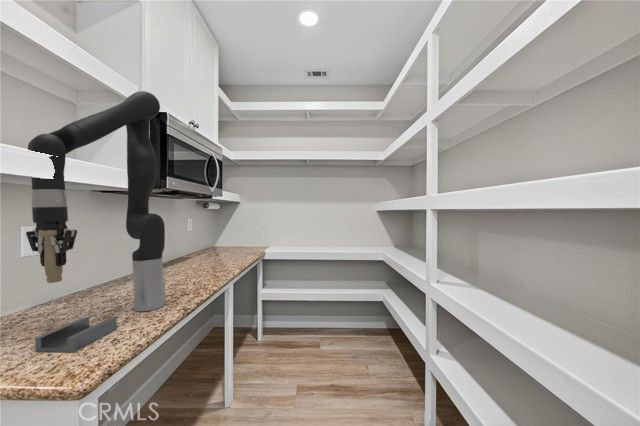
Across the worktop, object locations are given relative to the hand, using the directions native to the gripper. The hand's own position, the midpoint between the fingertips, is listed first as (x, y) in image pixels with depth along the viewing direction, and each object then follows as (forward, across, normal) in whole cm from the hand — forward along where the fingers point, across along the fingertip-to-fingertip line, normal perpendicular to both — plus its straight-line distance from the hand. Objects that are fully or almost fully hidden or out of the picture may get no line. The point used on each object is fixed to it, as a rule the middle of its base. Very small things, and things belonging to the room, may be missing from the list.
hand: (53, 265), depth 86 cm
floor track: (+19, -12, +5) cm, 23 cm away
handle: (+5, 0, 0) cm, 5 cm away
